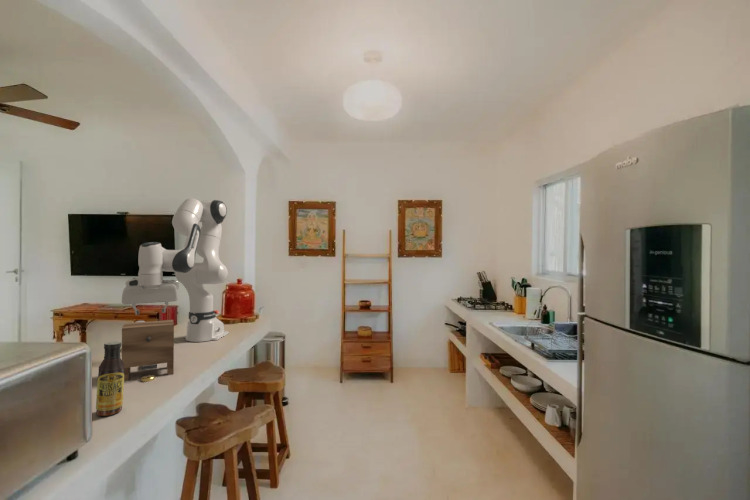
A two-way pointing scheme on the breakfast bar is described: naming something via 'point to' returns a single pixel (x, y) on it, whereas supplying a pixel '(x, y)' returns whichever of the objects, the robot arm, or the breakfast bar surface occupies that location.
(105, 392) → the sauce bottle
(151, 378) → the brass disc
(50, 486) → the breakfast bar surface
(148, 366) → the scraper
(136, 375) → the breakfast bar surface
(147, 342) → the walnut cabinet
